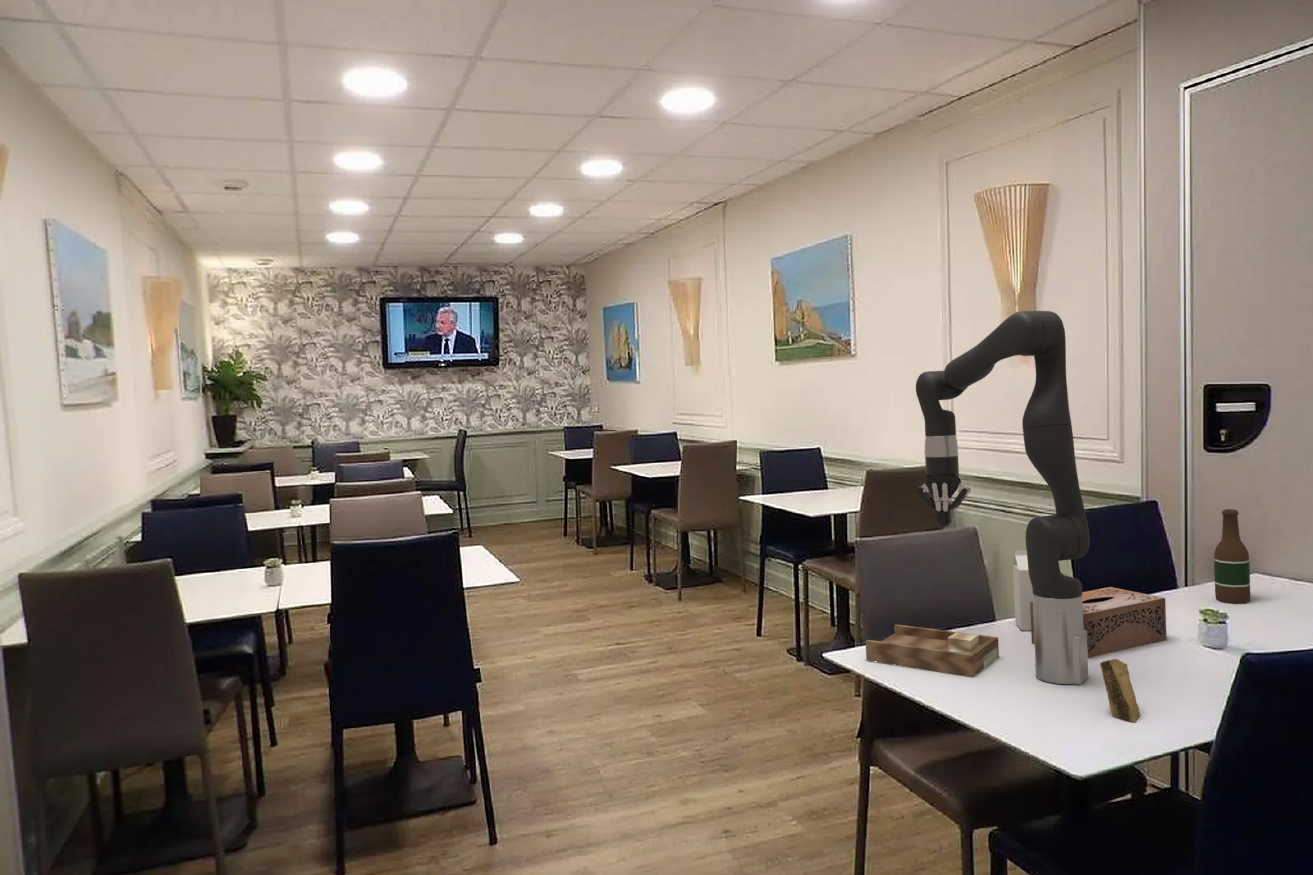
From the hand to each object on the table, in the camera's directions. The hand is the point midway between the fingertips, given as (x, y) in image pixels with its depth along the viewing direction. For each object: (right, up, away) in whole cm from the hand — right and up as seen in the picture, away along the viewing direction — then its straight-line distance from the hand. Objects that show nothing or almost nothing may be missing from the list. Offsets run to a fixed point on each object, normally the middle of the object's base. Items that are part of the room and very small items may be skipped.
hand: (944, 526), depth 212 cm
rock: (+17, -29, -51) cm, 61 cm away
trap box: (-8, -28, -15) cm, 33 cm away
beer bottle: (+82, -22, +20) cm, 87 cm away
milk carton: (+24, -26, +6) cm, 36 cm away
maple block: (-1, -25, -16) cm, 30 cm away
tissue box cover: (+32, -26, -9) cm, 43 cm away
